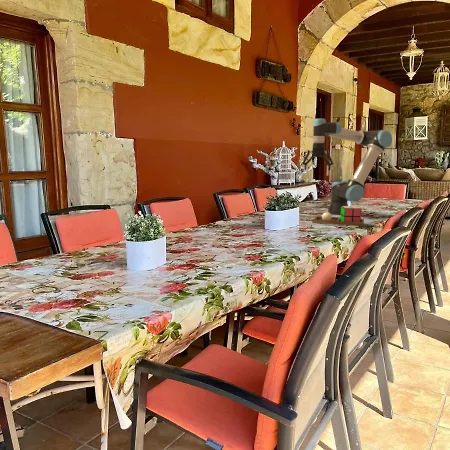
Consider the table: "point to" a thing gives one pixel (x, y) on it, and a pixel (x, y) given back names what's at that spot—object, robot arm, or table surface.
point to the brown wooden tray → (337, 221)
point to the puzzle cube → (350, 214)
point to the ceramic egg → (326, 216)
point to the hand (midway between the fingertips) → (317, 175)
